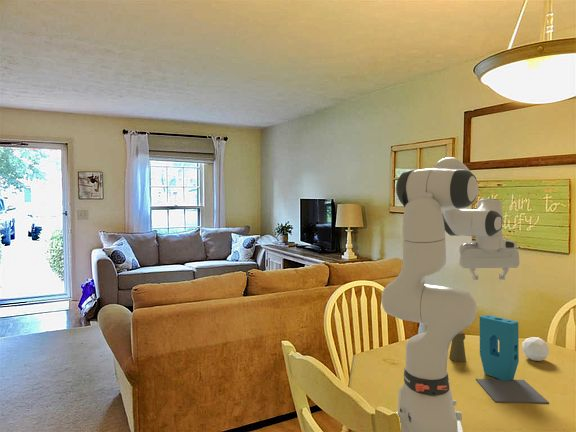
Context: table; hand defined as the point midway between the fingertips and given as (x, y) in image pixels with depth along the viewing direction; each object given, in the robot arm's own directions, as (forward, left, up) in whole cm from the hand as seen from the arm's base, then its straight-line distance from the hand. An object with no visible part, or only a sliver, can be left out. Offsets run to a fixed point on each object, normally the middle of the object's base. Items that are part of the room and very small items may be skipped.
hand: (488, 279), depth 149 cm
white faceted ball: (+8, -21, -33) cm, 40 cm away
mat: (-20, +1, -33) cm, 38 cm away
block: (-9, 0, -33) cm, 34 cm away
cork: (+6, +9, -33) cm, 35 cm away
